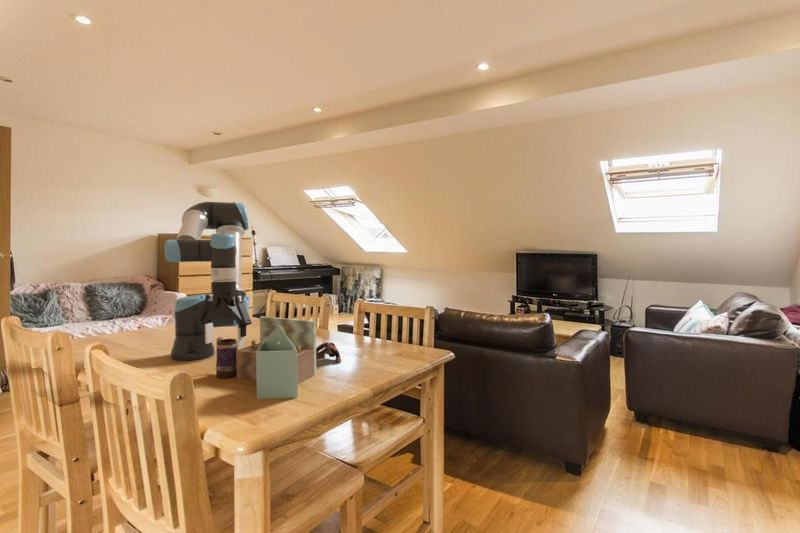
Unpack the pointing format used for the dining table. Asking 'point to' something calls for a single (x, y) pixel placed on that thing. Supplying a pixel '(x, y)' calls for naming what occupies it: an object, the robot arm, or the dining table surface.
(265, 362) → the planter
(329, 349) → the brown arched figurine
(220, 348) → the mug
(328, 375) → the dining table surface
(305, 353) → the wall shelf
